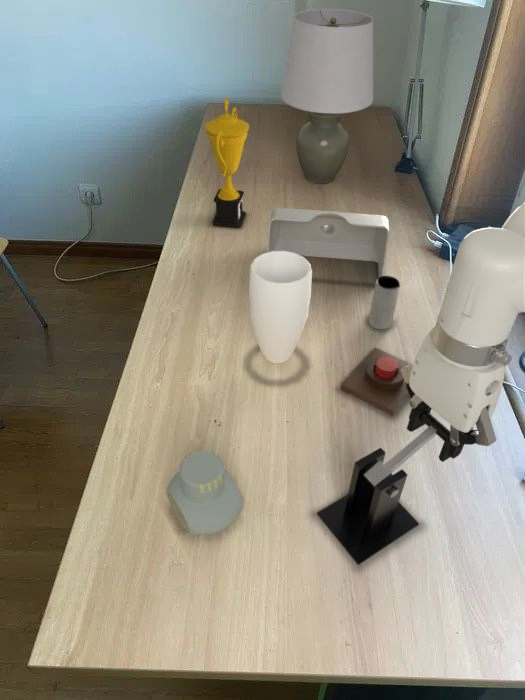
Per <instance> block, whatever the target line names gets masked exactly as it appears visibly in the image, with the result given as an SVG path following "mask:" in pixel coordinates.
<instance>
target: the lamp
mask: <svg viewBox="0 0 525 700" xmlns="http://www.w3.org/2000/svg"><path fill="white" fill-rule="evenodd" d="M284 67H285V68H284V72H283V78H282V83H281V89H280V93H279V94H280V99H281V100H282V102H283V103H285V104H286V105H288V106H289V107H292V108H295V109H297V110H301V111H305V112H307V113H308V116H309V121H308V122H306V123H305V124H304V125H303V126H302V127H301V129H300V130H299V132H298V134H297V136H296V142H295V143H296V144H295V145H296V155H297V159H298V162H299V165H300V168H301V171H302V172H303V177H304V179H305V180H306V181H307V182H309V183H313V184H317V185H318V184H319V185H320V184H321V185H324V184H329V183H332V182H333V181H335V179H336V176H337V174H338V173H339V171H340V170H341V168H342V166H343V164H344V162H345V159H346V157H347V153H348V151H349V143H350V141H349V140H350V139H349V135H348V132H347V130H346V129H345V127H344V125H342V124H340V123H339V121H340V119H341V117H342V115H343V114H349V113H354V112H359V111H362V110H364V109H367V108H368V107H370V106H371V105H372V104H373V102H374V18H373V16H371V15H369V14H367V13H363V12H360V11H355V10H349V9H340V8H314V9H307V10H303V11H299V12H297V13H295V14H294V15H293V22H292V28H291V34H290V40H289V45H288V50H287V55H286V62H285V66H284Z"/></svg>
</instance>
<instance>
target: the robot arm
mask: <svg viewBox="0 0 525 700" xmlns="http://www.w3.org/2000/svg"><path fill="white" fill-rule="evenodd" d="M455 255H456V256H455V258H454V259H455V260H454V262H453V266H452V269H451V272H450V275H449V279H448V282H447V286H446V288H445V293H444V296H443V299H442V303H441V306H440V309H439V313H438V316H437V319H436V323H435V326H434V327H432V328H431V329H430V330H429V332H428V334H427V335H426V336H425V337H424V340H423V341H422V343H421V346H420V347H419V349H418V351H417V353H416V356H415V359H414V360H413V363H410V365H407V366H405V367H403V368H401V374H402V376H403V378H404V380H405V382H407V385H406V387H407V390H408V393H409V399H410V400H408V405H409V406H410V409H411V410H410V413H409V415H408V423H407V426H406V430H407V431H408V432H411V433H412V432H414V431H416V430H418V429H419V428H421V427H423V426H426V424H425V423H424V422H422V421H421V420H420V419H419V417H420V415H421V414H422V413H423V412H424V411H428V412H429V413H430V414H431V411H432V410H433V411H434V412H435V413H436V414H437V415H438V416H439V417H441V418H442V419H443V420H444V421H446V423H448V424H449V426H450V427H449V428H450V429H449V431H450V437H449V438H447V439H446V440H445V441H444V440H443V444H442V447H441V450H440V453H439V455H438V460H439V461H440V462H441V463H444V462H445V461H447V460H449V459H450V458H451V459H455V458H457V457H459V456H460V455H461V453H462V451H463V449H464V446H465V445H469V446H472V445H474V444H475V445H478V446H483V447H489V446H491V445H492V444H494V443H495V442H497V436H496V434H495V430H494V427H493V423H492V421H491V420H492V419H491V418H492V417H493V415H494V413H495V410H496V408H497V405H498V402H499V399H500V396H501V393H502V389H503V384H504V380H505V374H506V366H508V365H509V364H510V362H511V361H512V360H513V356H512V354H511V355H510V354H509V353H508V351H507V350H506V347H507V345H508V342H509V340H508V337H510V334H511V331H512V329H513V326H514V324H515V322H516V320H517V317H518V315H519V314H520V313H525V201H524V202H523V203H522V204H521V205H520V206H518V207H517V208H516V209H515V210H514V211H513V212H512V213H511V214H510V216H509V217H508V218H507V219H506V221H505V222H504V224H503V225H502V227H501V228H500V227H483V228H479V229H475V230H472V231H471V232H470V233H468V234H467V235H466V236H465V237H464V238H463V239H462V240H461V242H460V243H459V246H458V249H457V252H456V254H455ZM474 426H476V429H474Z"/></svg>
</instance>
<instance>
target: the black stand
mask: <svg viewBox="0 0 525 700" xmlns="http://www.w3.org/2000/svg"><path fill="white" fill-rule="evenodd" d="M385 457H386V451H385V450H384V449H383V448H382V447H379V448H378V449H376V450H374V451H372V452H370V453H369V454H367V455H365V456H363V457H362V458H359V459H358V460H356V461H355V462H354V464H353V469H352V475H351V480H350V483H349V489H348V493H347V494H346V495H345V496H343V497H341V498H339V499H338V500H335V501H334V502H333V503H331V504H330V505H328V506H326V507H324V508H323V509H321V510H319V511H318V512H316V515H317V516H318V517H319V519H320V520H321V521H322V522H323V524H324V525H325V526H326V527H327V529H328V530H329V531H330V533H331V534H332V535H333V536H334V537H335V539H336V540H337V541H338V543H340V545H341V546H342V547H343V549H344V550H345V551H346V552H347V554H348V555H349V556H350V557H351V558H352V560H353V561H354V562H355V563H356V565H357V566H360V565H361V564H362V563H364V562H366V561H367V560H368V559H370V558H372V557H373V556H375V555H376V554H378V553H379V552H381V551H382V550H383V549H385V548H387V547H388V546H389V545H391V544H393V543H394V542H396V541H397V540H399V539H400V538H402V537H404V535H406V534H408V533H409V532H410V531H412V530H413V529H415V528H416V527H418V526H419V525H420V523H419V522H418V521H417V520H416V519H415V518H414V517H413V516H412V515H411V513H410V512H409V511H408V510H407V509H406V508H405V507H404V506H403V505H402V504H401V503H400V499H401V496H402V493H403V491H404V488H405V484H406V481H407V478H408V474H407V472H406V471H405V470H404V469H399V470H398V471H397V472H395V473H392V476H390V477H388V478H387V479H385V480H383V481H382V482H380V483H378V484H377V485H376V487H375V490H374V489H373V488H372V487H371V485H370V484H369V483H368V482H367V481H366V479H365V477H364V473H366V472H367V471H368V470H369V469H370V468H372V467H373V466H374V465H375V464H376V463H377V462H379V461H381V462H382V463H383V464H384V461H385Z"/></svg>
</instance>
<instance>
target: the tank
mask: <svg viewBox="0 0 525 700" xmlns="http://www.w3.org/2000/svg"><path fill="white" fill-rule="evenodd" d="M389 226H390V225H389V219H388V217H387V216H385V215H383V214H371V213H354V212H343V211H330V210H329V211H328V210H317V209H314V210H313V209H304V208H303V209H301V208H289V207H275V208H273V209H272V211H271V214H270V217H269V222H268V232H267V246H266V247H267V248H266V249H267V251H266V253H267V252H271V251H287V252H293V253H296V254H298V255H300V256H302V257H316V258H318V257H319V258H326V259H327V258H329V259H340V260H341V259H342V260H353V261H367V262H375V263H377V271H378V278H379V277H381V276H385V267H386V260H387V253H388V245H389V240H390V239H389V238H390V228H389Z"/></svg>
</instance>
